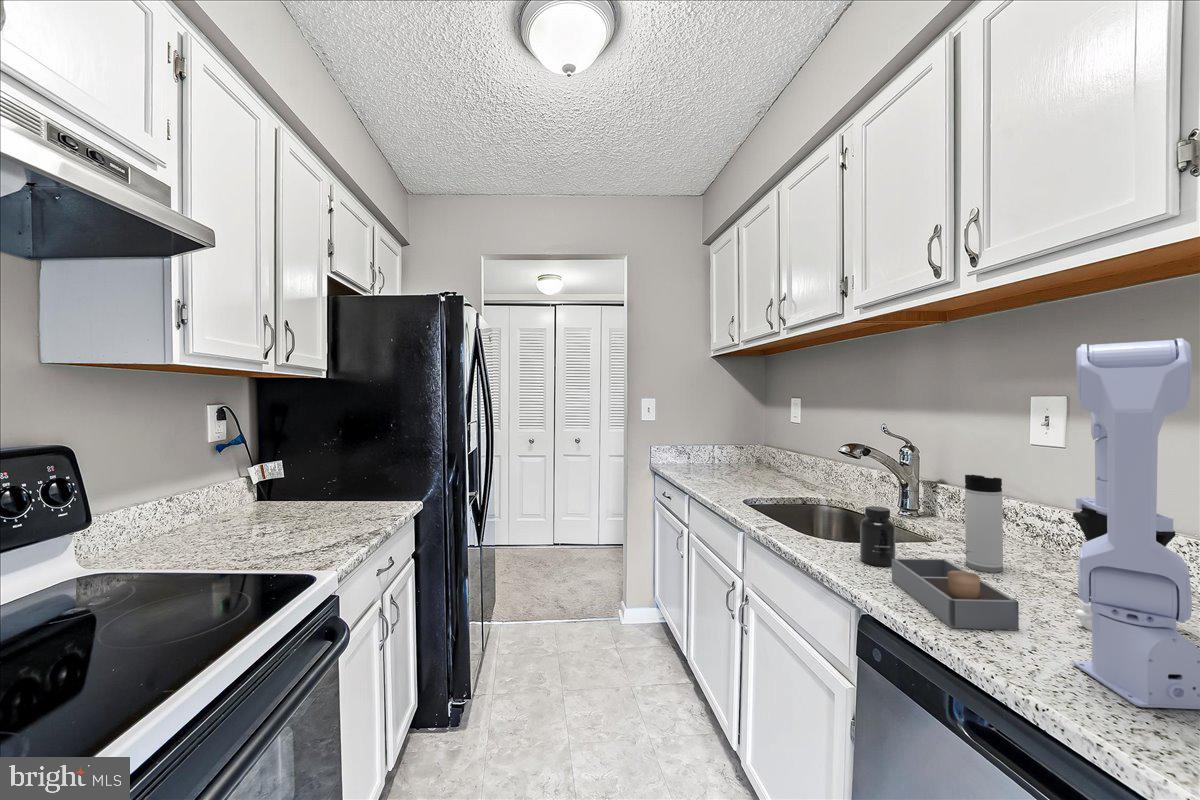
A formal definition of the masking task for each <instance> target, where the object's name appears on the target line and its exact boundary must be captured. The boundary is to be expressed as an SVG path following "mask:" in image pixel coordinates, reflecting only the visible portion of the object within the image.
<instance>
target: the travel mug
mask: <svg viewBox="0 0 1200 800" xmlns="http://www.w3.org/2000/svg"><path fill="white" fill-rule="evenodd" d="M1002 479H1003V478H1000V477H985V476H984V475H978V474H964V483H965V484H964V514H965V515H964V517H965V518H964V519H965V520H964V522H965V523H964V525H965V527H964V528H965V565H966V567H968V568H970V569H971V570H975V571H978V572H982V573H988V572H990V573H991V574H997V573H1001V572H1003V570H1004V544H1003V543H1004V539H1003V538H1004V535H1003V534H1004V529H1003V526H1004V525H1003V518H1004V517H1003V488H1002V486H1003V481H1002Z"/></svg>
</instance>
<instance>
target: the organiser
mask: <svg viewBox="0 0 1200 800" xmlns="http://www.w3.org/2000/svg"><path fill="white" fill-rule="evenodd" d="M949 571H965V572H967V570H964V569H962V568H961V567H960V566H958V565H956V564H954V563H952V562H951V561H949V560H947V559H945V558H895V559H892V566H891V581H892V582H893V583H894V584H895V583H896V584H895V585H897V586H898V587H899V588H900V587H901V588H900V589H902V590H903V592H905V591H906V592H905V593H907V594H908V595H909V594H910V595H911V596H912V598H913V599H914V600H915V599H916V600H917V603H919V604H920V603H921V604H922V605H921V606H923V607H924V608H925V607H926V608H927V609H926V608H925V609H926V610H928V611H929V612H930V611H931V612H932V613H931V612H930V613H931V614H932V615H934V616H935V617H937V619H939V620H942V621H941V622H943V623H944V624H945V625H946V626H947V627H948V628H950V629H953V628H966V629H965V630H994V629H1012V630H1011V631H1019V630H1020V623H1019V621H1020V620H1019V619H1020V617H1019V615H1020V612H1019V611H1020V610H1019V609H1020V608H1019V606H1020V605H1019V604H1020V603H1019V601H1018V600H1016V599H1015V598H1013V597H1011V596H1009V595H1007V594H1005V593H1004V592H1002V591H1001V590H999V589H998V588H996V587H994V586H992V585H990V584H988V583H987V582H986V581H983V580H982V579H980V600H971V599H952V598H950V597H949V596H948V572H949ZM910 595H909V596H910ZM911 596H910V597H911ZM916 600H915V601H916ZM967 628H969V629H967ZM971 628H972V629H971Z"/></svg>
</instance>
